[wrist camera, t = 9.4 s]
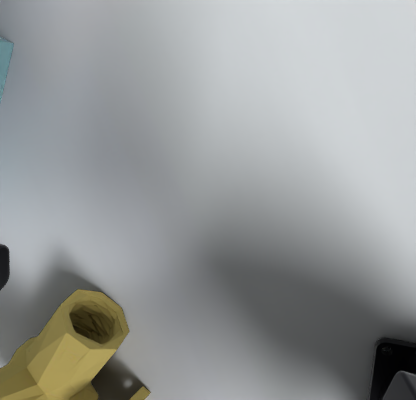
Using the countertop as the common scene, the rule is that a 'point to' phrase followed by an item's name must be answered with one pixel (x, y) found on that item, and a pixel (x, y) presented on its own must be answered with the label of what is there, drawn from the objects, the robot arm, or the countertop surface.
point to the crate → (4, 61)
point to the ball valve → (67, 352)
